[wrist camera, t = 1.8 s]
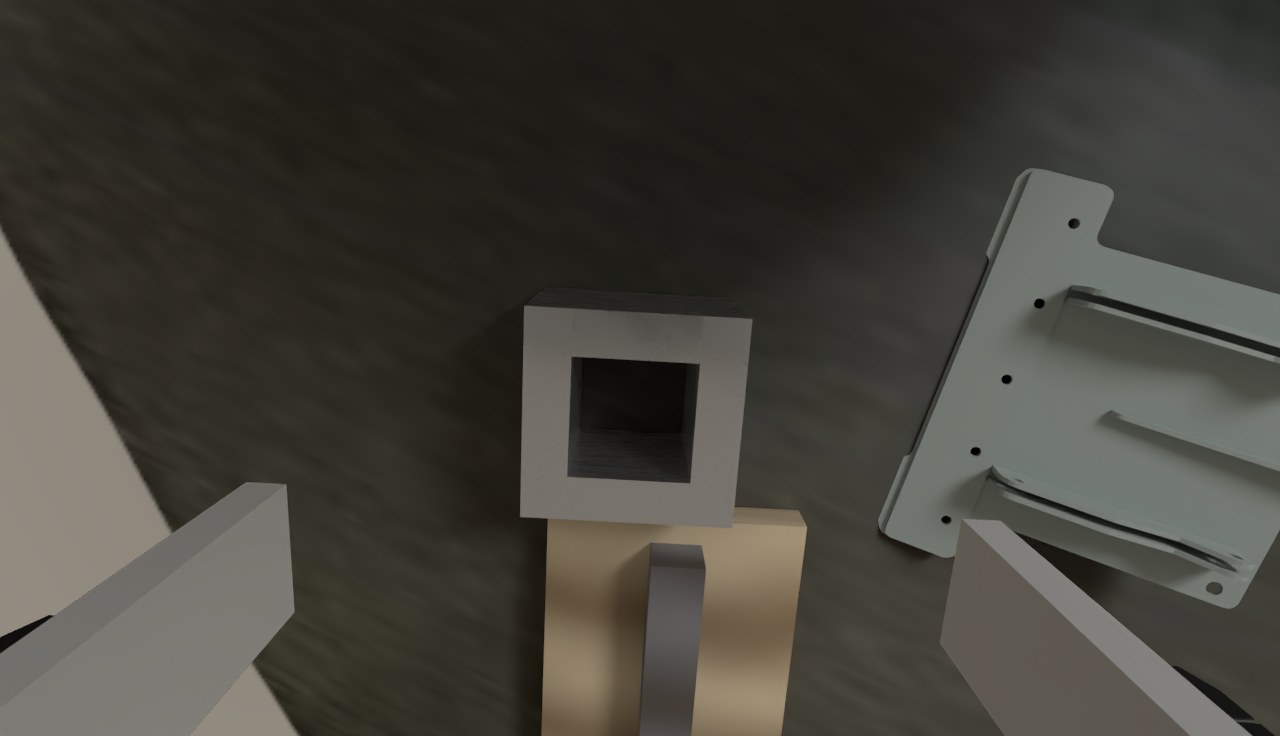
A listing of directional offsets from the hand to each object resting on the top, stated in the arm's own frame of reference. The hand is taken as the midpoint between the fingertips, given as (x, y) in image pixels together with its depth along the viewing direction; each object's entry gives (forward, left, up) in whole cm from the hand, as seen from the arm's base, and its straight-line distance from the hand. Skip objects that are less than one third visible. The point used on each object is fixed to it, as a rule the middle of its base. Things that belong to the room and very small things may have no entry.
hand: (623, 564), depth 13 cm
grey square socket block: (0, 0, -14) cm, 14 cm away
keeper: (+15, +2, -14) cm, 20 cm away
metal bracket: (0, +18, -14) cm, 23 cm away
